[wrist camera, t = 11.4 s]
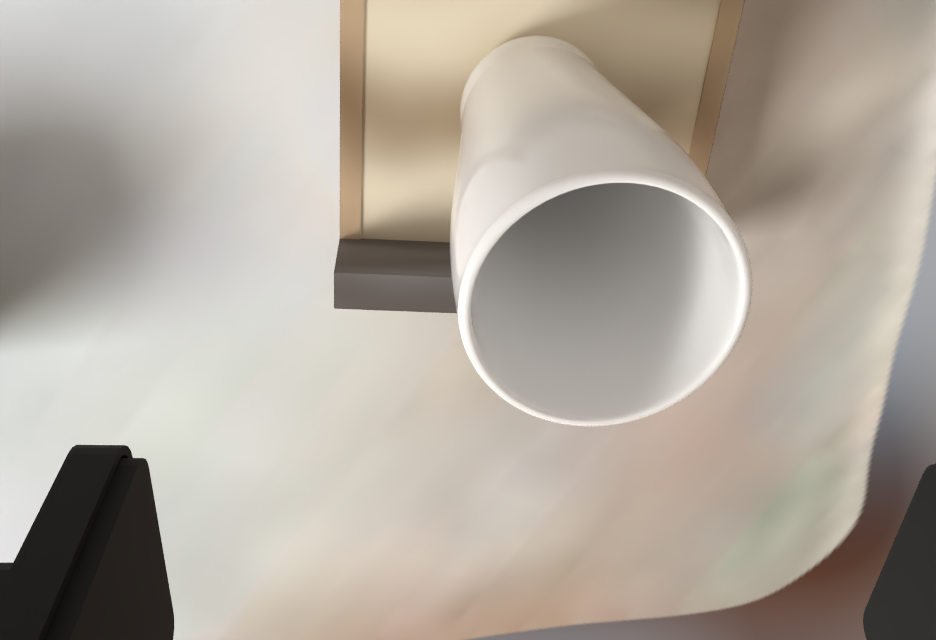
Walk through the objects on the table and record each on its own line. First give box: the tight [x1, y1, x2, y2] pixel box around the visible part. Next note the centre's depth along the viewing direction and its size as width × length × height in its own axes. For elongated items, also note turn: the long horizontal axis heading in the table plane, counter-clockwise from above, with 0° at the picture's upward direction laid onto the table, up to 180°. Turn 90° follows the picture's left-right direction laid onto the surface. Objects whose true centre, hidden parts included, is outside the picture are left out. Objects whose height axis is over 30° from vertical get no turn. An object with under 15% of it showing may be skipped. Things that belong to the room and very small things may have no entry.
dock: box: [334, 0, 745, 313], centre depth 33 cm, size 14×14×6 cm
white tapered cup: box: [450, 35, 752, 426], centre depth 26 cm, size 7×7×15 cm
